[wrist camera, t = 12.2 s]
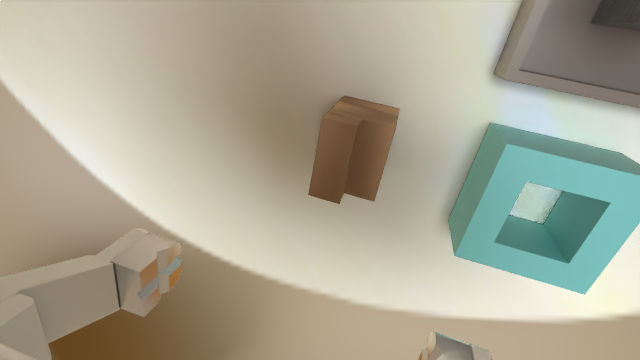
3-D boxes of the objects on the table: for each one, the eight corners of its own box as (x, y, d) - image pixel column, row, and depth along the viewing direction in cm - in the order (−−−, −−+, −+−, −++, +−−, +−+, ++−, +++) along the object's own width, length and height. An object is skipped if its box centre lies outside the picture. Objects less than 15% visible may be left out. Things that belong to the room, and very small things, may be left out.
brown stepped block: (331, 158, 26) (308, 195, 20) (344, 95, 24) (322, 117, 18) (381, 171, 25) (371, 213, 20) (399, 108, 23) (394, 135, 17)
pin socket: (448, 220, 25) (454, 255, 22) (490, 122, 22) (507, 143, 18) (557, 251, 24) (584, 294, 20) (621, 153, 21) (670, 182, 17)
